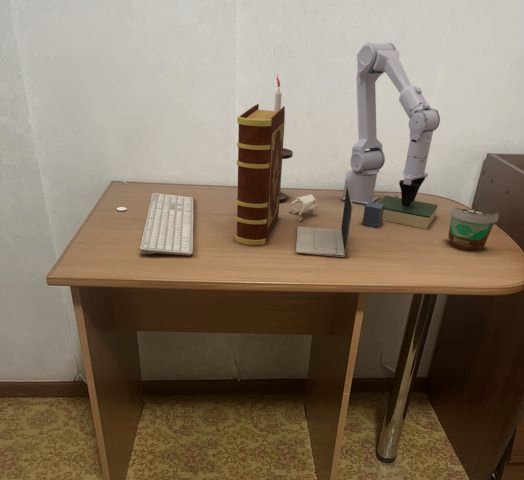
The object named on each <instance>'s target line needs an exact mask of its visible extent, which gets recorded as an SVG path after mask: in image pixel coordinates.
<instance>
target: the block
mask: <svg viewBox="0 0 524 480" xmlns="http://www.w3.org/2000/svg"><path fill="white" fill-rule="evenodd" d="M384 206H385V205H384V204H379V203H378V202H369V203H368V204H365V205H364V211H363V215H362V216H363V217H362V223H361V224H362V226H367V227H371V228H378V227H379V226H380V225H381V224H382V222H383V220H382V218H383V212H384Z"/></svg>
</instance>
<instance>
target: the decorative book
mask: <svg viewBox="0 0 524 480" xmlns="http://www.w3.org/2000/svg"><path fill="white" fill-rule="evenodd" d="M259 105H260V104H259V103H257V104H255V105H253V106H252V107H250V108H248V109H247V110H246V111H245V112H243V113H242V114H240V115H238V116H237V117H236V123H237V124H238V135H237V136H238V137H237V138H238V139H237V142H236V147H237V160H236V165H237V193H236V194H237V197H236V199H235V205H236V216H235V221H236V234H235V236H234V238H235V239H234V240H235V242H237V243H239V244H242V245H247V246H263V245H265V244H266V242H267V240H268V238H269V237H270V235H271V233H272V231H273V229H274V228H275V226H276V224H277V221H278V218H279V214H280V213H279V212H280V203H281V202H280V192H281V186H282V185H281V184H282V170H283V169H282V168H283V159H282V155H283V148H284V139H285V136H284V135H285V119H286V118H285V117H286V116H285V115H286V113H285V112H286V109H285V108H286V107H285V105H283V106H281V110H279V111H274V110H267V109H266V110H265V109H260V108H259V107H260V106H259Z"/></svg>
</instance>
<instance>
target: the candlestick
mask: <svg viewBox="0 0 524 480" xmlns="http://www.w3.org/2000/svg"><path fill="white" fill-rule="evenodd" d="M276 84H277V90H276V92H274V107H273V111H279V110H281V109H282V95H283V94H282V92H281V81H280V79H279V74H278V75H276ZM293 156H294V152H293V150H291V149H289V148H284V147H283V155H282V160H288V159H291V158H292V157H293ZM287 200H288V195H287V194H286V193H284V192H282V191H280V203H283V202H286V201H287Z"/></svg>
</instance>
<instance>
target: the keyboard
mask: <svg viewBox="0 0 524 480" xmlns="http://www.w3.org/2000/svg"><path fill="white" fill-rule="evenodd" d="M139 249H140V251H141V254H143V255H153V254H155V253H156V254H166V255H168V254H169V255H177V256H178V255H179V256H189V257H190V256H192V255H193V253H194V252H193V251H194V197H192V196H186V195H185V196H184V195H175V194H165V193H159V192H152V194H151V199H150V203H149V207H148V212H147V216H146V221H145V225H144V229H143V233H142V238H141V243H140V246H139Z"/></svg>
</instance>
